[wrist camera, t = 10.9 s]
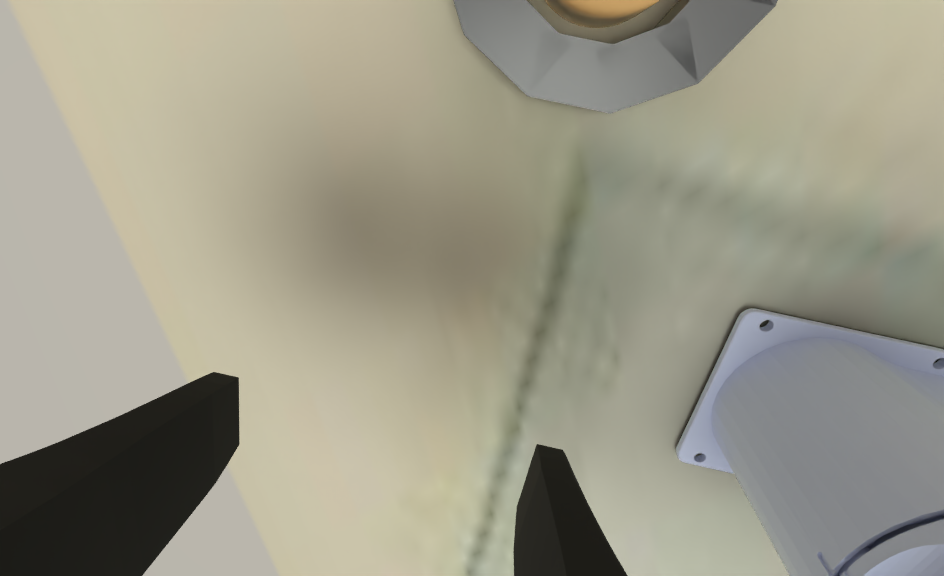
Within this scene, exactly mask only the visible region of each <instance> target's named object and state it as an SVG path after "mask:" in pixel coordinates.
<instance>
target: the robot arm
mask: <svg viewBox="0 0 944 576" xmlns="http://www.w3.org/2000/svg"><path fill="white" fill-rule="evenodd" d="M765 320H769V323H768V324H767V325H766V326H764V327H760V324H761V323H762V322H763V321H765ZM939 358H940V359H939ZM937 359H939V360H938V361H937V362H936V363H934V362H935V361H936V360H937ZM933 363H934V364H933ZM238 446H239V378H238V377H234V376H229V375H225V374H220V373H216V372H213V373H210V374H208V375H206V376H203V377H201V378H199V379H197V380H195V381H192V382H190V383H188V384H186V385H184V386H182V387H180V388H178V389H176V390H174V391H171V392H169V393H167V394H165V395H163V396H161V397H159V398H157V399H155V400H153V401H150V402H148V403H146V404H144V405H142V406H140V407H138V408H136V409H133V410H131V411H129V412H127V413H125V414H123V415H121V416H118V417H116V418H114V419H112V420H109V421H107V422H105V423H102V424H100V425H98V426H95V427H93V428H91V429H88V430H86V431H84V432H81V433H79V434H77V435H74V436H72V437H70V438H68V439H65V440H63V441H60V442H58V443H55V444H53V445H50V446H48V447H45V448H43V449H40V450H37V451H35V452H32V453H30V454H27V455H24V456H22V457H19V458H16V459H13V460H11V461H7V462H5V463H2V464H0V576H142V575H143V574H144V572H145V571H146V570H147V569H148V567H149V566H150V565H151V564H152V563H153V561H154V560H155V559H156V557H157V556H158V555H159V554H160V553H161V551H162V550H163V549H164V548H165V546H166V545H167V544H168V543H169V541H170V540H171V539H172V538H173V536H174V535H175V534H176V533H177V531H178V530H179V529H180V528H181V526H182V525H183V523H185V521H186V520H187V519H188V517H189V516H190V515H191V514H192V512H193V511H194V510H195V509H196V507H197V506H198V505H199V504H200V502H201V501H202V500H203V499H204V497H205V496H206V495H207V493H208V492H209V491H210V489H211V488H212V487H213V486H214V484H215V483H216V481H217V480H218V478H219V477H220V475H221V473H222V471H223V470H224V469H225V467H226V466H227V464H228V462H229V461H230V459H231V457H232V456H233V454H234V452H235V451H236V449H237V447H238ZM698 453H702V454H701V455H699V456H695V455H696V454H698ZM676 454H677V456H678V459H679V460H680V461H682V462H684V463H688V464H693V465H697V466H702V467H706V468H711V469H715V470H720V471H724V472H729V473H733V474H735V476H736V478H737V480H738V482H739V484H740V485H741V487H742V489H743V491H744V493H745V495H746V496H747V498H748V500H749V502H750V504H751V506H752V507H753V509H754V511H755V513H756V515H757V517H758V518H759V520H760V522H761V524H762V526H763V528H764V529H765V531H766V533H767V535H768V537H769V539H770V540H771V542H772V544H773V546H774V548H775V550H776V551H777V553H778V555H779V557H780V559H781V561H782V562H783V564H784V566H785V568H786V570H787V572H788V573H789V575H790V576H944V349H940V348H936V347H931V346H927V345H922V344H917V343H913V342H908V341H903V340H899V339H894V338H890V337H885V336H880V335H876V334H871V333H866V332H862V331H857V330H853V329H848V328H843V327H839V326H834V325H829V324H825V323H820V322H815V321H811V320H806V319H802V318H797V317H792V316H788V315H783V314H778V313H774V312H769V311H765V310H760V309H754V308H750V309H747V310H745V311H743V312H742V313H741V314H740V315H739V316H738V318H737V320H736V323H735V325H734V327H733V329H732V331H731V333H730V335H729V337H728V339H727V342H726V344H725V346H724V348H723V350H722V352H721V354H720V356H719V358H718V361H717V363H716V365H715V367H714V369H713V371H712V373H711V375H710V377H709V380H708V382H707V384H706V386H705V388H704V390H703V392H702V394H701V397H700V399H699V401H698V403H697V405H696V407H695V409H694V411H693V413H692V416H691V418H690V420H689V422H688V424H687V426H686V428H685V430H684V432H683V435H682V437H681V439H680V441H679V443H678V445H677V447H676ZM514 576H627V574H626V572H625V571H624V569H623V567H622V566H621V564H620V562H619V560H618V559H617V557H616V555H615V554H614V552H613V550H612V548H611V547H610V545H609V543H608V541H607V539H606V538H605V536H604V534H603V532H602V530H601V528H600V526H599V524H598V522H597V520H596V518H595V517H594V515H593V513H592V511H591V509H590V507H589V505H588V503H587V501H586V499H585V497H584V494H583V492H582V490H581V488H580V486H579V484H578V482H577V479H576V477H575V475H574V473H573V471H572V468H571V466H570V464H569V461H568V459H567V457H566V455H565V453H564V451H563V450H561V449H556V448H552V447H547V446H543V445H538V444H537V445H536V448H535V452H534V455H533V458H532V461H531V464H530V467H529V470H528V474H527V477H526V480H525V483H524V486H523V489H522V493H521V496H520V499H519V502H518V505H517V512H516V525H515V538H514Z"/></svg>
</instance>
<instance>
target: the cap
mask: <svg viewBox="0 0 944 576" xmlns="http://www.w3.org/2000/svg"><path fill="white" fill-rule="evenodd" d="M545 1H546V2H547V4H548V5H549V6H550V7H551V8H552V9H553V10H554V11H555V12H556V13H557V14H558V15H560V16H561V17H562V18H564V19H566V20H567V21H569V22H571V23H574V24H577V25H579V26H584V27H589V28H602V27H610V26H614V25H618V24H620V23H623V22H625V21H628V20H629V19H631V18H633V17H635V16H637V15H638V14H640V13H641V12H643V11H644V10H646V9H647V8H649V7H650V6H652V5H654V4H655V3H657V2H658V1H660V0H545Z"/></svg>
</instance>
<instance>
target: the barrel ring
mask: <svg viewBox="0 0 944 576" xmlns="http://www.w3.org/2000/svg"><path fill="white" fill-rule="evenodd" d="M453 1H454V4H455V7H456V10H457V14H458V17H459V20H460V23H461V27H462V30H463V33H464V35H465V36H466V37H467V38H468V39H469V40H470V41H471V42H472V43H473V44H474V45H475V46H476V47H477V48H478V49H479V50H480V51H481V52H482V53H483V54H484V55H485V56H487V57H488V58H489V59H490V60H491V61H492V62H493V63H494V64H495V65H496V66H497V67H498V68H499V69H500V70H501V71H502V72H503V73H504V74H505V75H506V76H507V77H508V78H509V79H510V80H511V81H512V82H513V83H514V84H515V85H516V86H517V87H519V88H520V89H521V90H522V91H523V92H524V93H525V94H526V95H527V96H529V97H533V98H538V99H543V100H548V101H552V102H557V103H562V104H567V105H571V106H576V107H581V108H586V109H591V110H595V111H600V112H605V113H610V114H611V113H613V112H616V111H619V110H622V109H625V108H628V107H631V106H634V105H637V104H640V103H643V102H646V101H648V100H651V99H654V98H657V97H660V96H663V95H666V94H669V93H672V92H675V91H678V90H681V89H683V88H686V87H689V86H692V85H695V84H698V83H699V82H700V81H701V80H702V79H703V78H704V77H705V76H706V75H707V74H708V73H709V72H710V71H711V70H712V69H713V68H714V67H715V66H716V65H717V64H718V63H719V62H720V61H721V60H722V59H723V58H724V57H725V56H726V55H727V54H728V53H729V52H730V51H731V50H732V49H733V48H734V47H735V46H736V45H737V44H738V43H739V42H740V41H741V40H742V39H743V38H744V37H745V36H746V35H747V34H748V33H749V32H750V31H751V30H752V29H753V28H754V27H755V26H756V25H757V24H758V23H759V22H760V21H761V20H762V19H763V18H764V17H765V16H766V15H767V14H768V13H769V12H770V11H771V10H772V9H773V8H774V7H775V6H776V3H777V1H778V0H679V1H678V2H677V4H676V5H675V6H674V7H673V8H672V9H671V10H670V11H669V12H668V13H667V15H666V16H665V17H664V18H663V19H662V20H661V21H660V22H659V23H658V24H657V26H656V27H655V28H654V29H652V30H650V31H647V32H644V33H642V34H639V35H636V36H634V37H631V38H628V39H626V40H623V41H620V42H618V43H615V44H609V43H604V42H599V41H594V40H589V39H585V38H580V37H575V36H570V35H565V34H560V33H558V32H557V31H556V30H555V29H554V28H553V27H552V26H551V25H550V24H549V23H548V22H547V21H546V20H545V19H544V18H543V16H542V15H541V14H540V13H539V12H538V11H537V10H536V9H535V8H534V7H533V6H532V5H531V4H530V3H529V2H528V1H527V0H453Z"/></svg>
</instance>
